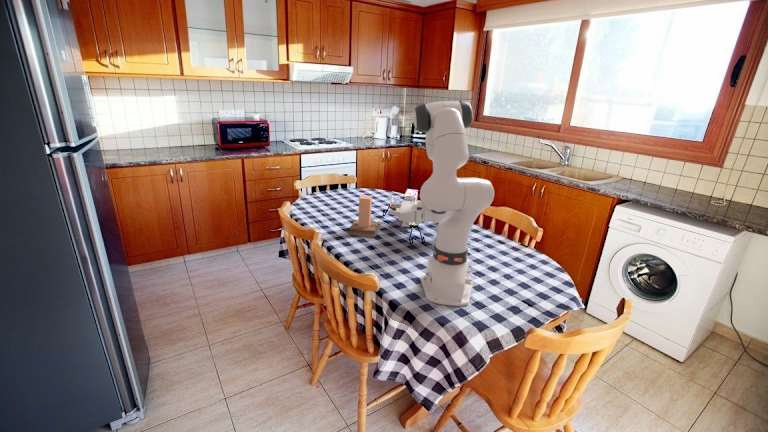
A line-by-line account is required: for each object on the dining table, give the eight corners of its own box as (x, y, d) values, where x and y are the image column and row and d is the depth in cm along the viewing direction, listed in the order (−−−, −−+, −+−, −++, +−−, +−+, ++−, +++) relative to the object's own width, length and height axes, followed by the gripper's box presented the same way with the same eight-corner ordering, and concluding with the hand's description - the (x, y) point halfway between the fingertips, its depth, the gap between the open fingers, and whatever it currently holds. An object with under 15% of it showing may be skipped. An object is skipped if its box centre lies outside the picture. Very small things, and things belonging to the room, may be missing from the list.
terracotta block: (368, 227, 176) (370, 199, 172) (358, 226, 177) (359, 198, 172) (370, 224, 181) (371, 196, 176) (360, 223, 181) (361, 195, 177)
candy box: (412, 228, 187) (415, 196, 181) (400, 227, 188) (403, 195, 182) (415, 219, 200) (418, 189, 194) (404, 218, 201) (407, 188, 195)
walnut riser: (374, 237, 174) (375, 231, 173) (349, 234, 175) (349, 228, 174) (378, 228, 185) (378, 222, 184) (354, 225, 186) (354, 220, 185)
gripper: (421, 198, 182) (393, 196, 183) (419, 212, 162) (388, 209, 164) (420, 211, 184) (392, 208, 185) (418, 225, 165) (387, 222, 166)
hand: (390, 208), depth 174 cm, fingers open, 8 cm apart
